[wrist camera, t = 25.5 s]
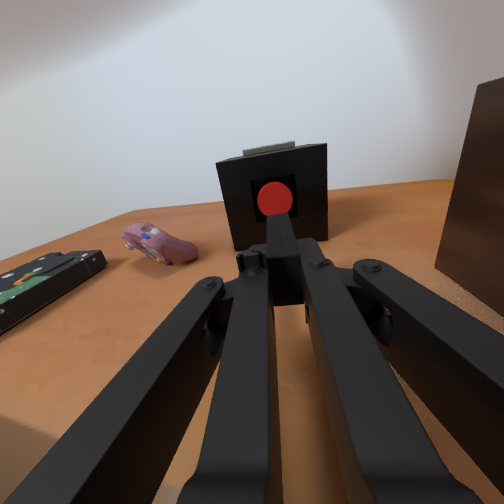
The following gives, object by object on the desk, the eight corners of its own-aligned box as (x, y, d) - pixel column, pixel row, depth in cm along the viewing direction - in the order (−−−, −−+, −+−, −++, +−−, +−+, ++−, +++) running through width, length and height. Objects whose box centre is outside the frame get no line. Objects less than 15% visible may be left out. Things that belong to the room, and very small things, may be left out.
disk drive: (58, 268, 34) (-91, 345, 21) (49, 252, 33) (-116, 323, 20) (111, 265, 31) (-23, 351, 18) (102, 248, 30) (-48, 327, 17)
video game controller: (147, 264, 33) (107, 235, 28) (166, 242, 35) (131, 210, 30) (183, 280, 27) (139, 246, 22) (204, 252, 28) (167, 214, 24)
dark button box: (314, 216, 36) (311, 137, 31) (329, 240, 27) (329, 134, 22) (242, 226, 37) (228, 152, 32) (234, 251, 28) (213, 155, 23)
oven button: (291, 209, 27) (288, 177, 26) (293, 215, 25) (291, 180, 23) (260, 213, 28) (256, 182, 26) (260, 220, 26) (254, 185, 24)
